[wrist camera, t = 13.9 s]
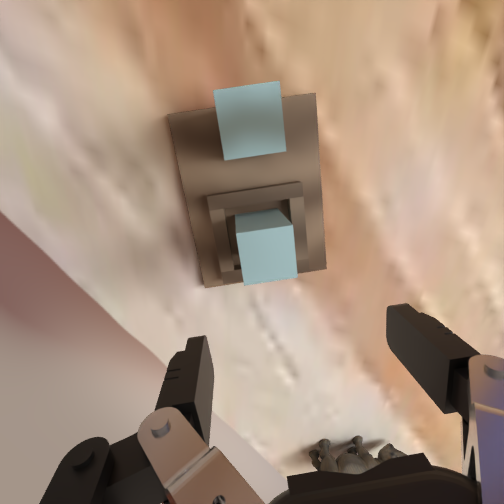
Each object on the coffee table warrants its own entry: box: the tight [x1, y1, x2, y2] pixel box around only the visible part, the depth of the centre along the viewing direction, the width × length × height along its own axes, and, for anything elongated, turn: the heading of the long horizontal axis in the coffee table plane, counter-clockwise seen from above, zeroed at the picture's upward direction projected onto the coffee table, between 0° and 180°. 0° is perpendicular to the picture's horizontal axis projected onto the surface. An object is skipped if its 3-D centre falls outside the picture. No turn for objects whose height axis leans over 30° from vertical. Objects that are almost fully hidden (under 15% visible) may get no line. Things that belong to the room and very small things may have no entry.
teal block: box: [235, 208, 298, 286], centre depth 27 cm, size 4×4×8 cm
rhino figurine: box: [309, 436, 407, 474], centre depth 40 cm, size 4×14×6 cm, turn 94°
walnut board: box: [167, 81, 327, 288], centre depth 26 cm, size 18×14×9 cm
